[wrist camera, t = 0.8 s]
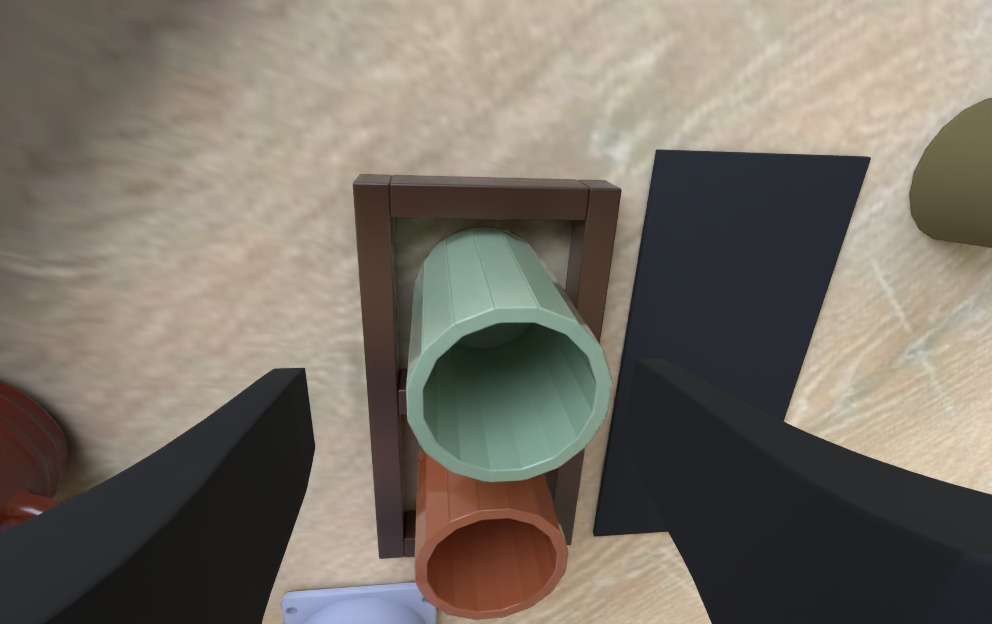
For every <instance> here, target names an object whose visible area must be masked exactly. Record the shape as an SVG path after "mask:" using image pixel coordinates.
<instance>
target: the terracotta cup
mask: <svg viewBox="0 0 992 624" xmlns="http://www.w3.org/2000/svg"><path fill="white" fill-rule="evenodd" d="M567 558H568V547H567V544H566V541H565V537H564V534H563V531H562V527H561V524H560V521H559V517H558V514H557V511H556V507H555V504H554V501H553V497H552V494H551V491H550V487H549V484H548V481H547V477H546V474H545V473H543V474H540V475H537V476H535V477H532V478H529V479H527V480H525V479H524V480H521V481H502V482H488V481H487V482H484V481H481V480H477V479H473V478H470V477H466V476H462V475H459V474H455V473H453V472H451V471H449V470H448V469H447V468H445V467H444V466H442V465H441V464H440V463H438V462H437V461H436V460H434V459H433V458H432V457H430V456H429V455H428V454H426V453H425V451H423V449H422V447H421V445H420V444H419V451H418V466H417V498H416V531H415V583H416V586H417V587H418V589H419V590H420V592H421V593H422V595H423V596H424V598H425V599H426V601H427V602H428V603H429V604H431V605H433V606H435V607H436V608H438V609H440V610H441V611H443V612H445V613H447V614H449V615H453V616H458V617H463V618H468V619H474V620H475V619H476V620H479V619H490V618H502V617H506V616H509V615H512V614H514V613H517V612H520V611H523V610H526V609H528V608H530V607H532V606H534V605H535V604H536V603H538V602H539V601H540V600H542V599H543V598H545V597H546V596H547V595H549V594H550V593H551V592H552V591H553V590H554V588H555V587H556V586H557V584H558V583H559V581H560V580H561V578H562V577H563V575H564V574H565V572H566V565H567Z"/></svg>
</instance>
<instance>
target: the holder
mask: <svg viewBox="0 0 992 624" xmlns="http://www.w3.org/2000/svg"><path fill="white" fill-rule="evenodd" d="M353 194H354V208H355V222H356V237H357V251H358V265H359V279H360V293H361V308H362V322H363V336H364V350H365V364H366V379H367V393H368V407H369V421H370V435H371V450H372V464H373V478H374V492H375V506H376V521H377V535H378V549H379V558H380V559H384V558H399V557H404V556H405V557H415V531H416V510H409V511H406V512H405V487H404V461H403V435H402V414H407V400H406V383H407V370H408V368H402V369H400V358H399V333H398V307H397V281H396V255H395V230H394V218H435V219H505V220H573V226H572V235H571V244H570V254H569V263H568V273H567V282H566V291H565V292H566V294H567V296H568V297H569V299H570V300H571V302H572V303H573V305H574V306H575V308H576V309H577V311H578V312H579V314H580V315H581V317H582V318H583V320H584V321H585V323H586V324H587V326H588V327H589V329H590V330H591V332H592V333H593V335H594V336H595V338H596V339H597V341H598V342H599V344H600V338H601V331H602V324H603V317H604V310H605V303H606V296H607V289H608V282H609V275H610V268H611V261H612V254H613V247H614V240H615V233H616V226H617V219H618V212H619V205H620V198H621V189H620V188H619V187H617V186H615V185H613V184H611V183H609V182H607V181H605V180H578V181H577V180H570V179H530V178H490V177H450V176H410V175H394V176H393V177H392V176H391V175H371V174H360V175H359V176H358V177H357V179H356V180H355V181H354V183H353ZM584 450H585V448H584V449H582V450H581V451H580V452H578V453H577V454H576V455H575V456H573V457H572V458H571V459H570V460H568V461H567V462H566V463H564V464H563V465H562V466H559V467H558V468H556V469H554V470H551V471H548V472H546V477H547V481H548V484H549V487H550V491H551V494H552V497H553V501H554V504H555V507H556V511H557V514H558V517H559V521H560V524H561V527H562V531H563V534H564V537H565V541H566V544H567V545H571V541H572V534H573V527H574V520H575V513H576V506H577V499H578V492H579V485H580V478H581V471H582V464H583V457H584Z"/></svg>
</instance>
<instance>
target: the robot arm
mask: <svg viewBox="0 0 992 624" xmlns="http://www.w3.org/2000/svg"><path fill="white" fill-rule="evenodd" d="M622 435H623V437H624V440H625V443H626V446H627V449H628V452H629V455H630V457H631V460H632V462H633V465H634V467H635V470H636V472H637V474H638V476H639V478H640V480H641V482H642V484H643V486H644V488H645V490H646V492H647V493H648V495H649V497H650V499H651V501H652V503H653V505H654V506H655V508H656V510H657V512H658V514H659V516H660V517H661V519H662V521H663V523H664V525H665V527H666V528H667V530H668V532H669V534H670V536H671V538H672V540H673V541H674V543H675V545H676V547H677V549H678V551H679V552H680V554H681V556H682V558H683V560H684V562H685V564H686V566H687V568H688V570H689V572H690V574H691V576H692V578H693V580H694V582H695V585H696V587H697V589H698V592H699V594H700V597H701V599H702V601H703V604H704V606H705V608H706V611H707V613H708V616H709V618H710V620H711V623H712V624H992V495H991V494H987V493H983V492H980V491H976V490H972V489H969V488H965V487H961V486H958V485H954V484H950V483H947V482H944V481H940V480H937V479H934V478H930V477H927V476H924V475H920V474H917V473H914V472H911V471H908V470H905V469H902V468H899V467H896V466H893V465H890V464H887V463H884V462H882V461H879V460H876V459H873V458H870V457H867V456H864V455H862V454H859V453H856V452H854V451H851V450H848V449H846V448H843V447H841V446H839V445H836V444H834V443H831V442H829V441H826V440H824V439H821V438H819V437H817V436H814V435H812V434H809V433H807V432H805V431H803V430H800V429H798V428H796V427H794V426H792V425H789V424H787V423H785V422H783V421H781V420H779V419H777V418H775V417H773V416H771V415H769V414H767V413H765V412H763V411H761V410H759V409H757V408H755V407H753V406H751V405H749V404H747V403H745V402H743V401H741V400H739V399H738V398H736V397H734V396H732V395H730V394H728V393H726V392H725V391H723V390H721V389H719V388H717V387H715V386H714V385H712V384H710V383H708V382H706V381H704V380H703V379H701V378H699V377H697V376H695V375H693V374H691V373H690V372H688V371H686V370H684V369H682V368H680V367H678V366H676V365H674V364H672V363H670V362H667V361H665V360H662V359H635V362H634V368H633V374H632V379H631V385H630V391H629V397H628V402H627V408H626V414H625V420H624V426H623V431H622ZM314 451H315V442H314V434H313V426H312V419H311V411H310V403H309V396H308V388H307V380H306V373H305V368H281V369H273V370H272V371H270V372H268V373H267V374H265V375H264V376H263V377H261V378H260V379H258V380H257V381H256V382H254V383H253V384H252V385H250V386H249V387H248V388H246V389H245V390H244V391H242V392H241V393H240V394H238V395H237V396H236V397H234V398H233V399H232V400H230V401H229V402H228V403H226V404H225V405H223V406H222V407H221V408H219V409H218V410H217V411H215V412H214V413H212V414H211V415H210V416H208V417H207V418H206V419H204V420H203V421H201V422H200V423H198V424H197V425H195V426H194V427H192V428H191V429H189V430H188V431H186V432H185V433H183V434H182V435H180V436H179V437H177V438H176V439H174V440H173V441H171V442H170V443H168V444H167V445H165V446H164V447H162V448H161V449H159V450H158V451H156V452H155V453H153V454H151V455H150V456H148V457H146V458H145V459H143V460H141V461H140V462H138V463H136V464H135V465H133V466H131V467H130V468H128V469H126V470H124V471H122V472H121V473H119V474H117V475H115V476H113V477H112V478H110V479H108V480H106V481H104V482H103V483H101V484H99V485H97V486H95V487H93V488H91V489H90V490H88V491H86V492H84V493H82V494H80V495H78V496H75V497H73V498H71V499H69V500H67V501H65V502H63V503H61V504H59V505H57V506H55V507H53V508H51V509H49V510H47V511H45V512H43V513H41V514H39V515H36V516H34V517H32V518H30V519H28V520H26V521H24V522H22V523H20V524H18V525H16V526H13V527H11V528H9V529H7V530H4V531H2V532H0V624H262V620H263V616H264V613H265V610H266V607H267V603H268V600H269V597H270V594H271V591H272V588H273V585H274V582H275V579H276V576H277V574H278V571H279V568H280V565H281V562H282V559H283V557H284V554H285V551H286V548H287V545H288V542H289V540H290V537H291V534H292V531H293V528H294V525H295V522H296V520H297V517H298V514H299V511H300V508H301V505H302V502H303V499H304V496H305V493H306V490H307V486H308V481H309V476H310V472H311V467H312V462H313V456H314ZM281 609H282V614H283V619H284V624H437V620H436V607H435V606H433V605H431V604H429V603H428V602H427V601H426V599H425V598H424V596H423V595H422V593H421V592H420V590H419V589H418V587H417V586H416V583H415V582H409V583H396V584H383V585H370V586H357V587H344V588H331V589H318V590H305V591H292V592H288V593H286V594H284V595H283V597H282V600H281Z"/></svg>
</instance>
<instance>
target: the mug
mask: <svg viewBox="0 0 992 624" xmlns="http://www.w3.org/2000/svg"><path fill="white" fill-rule="evenodd" d="M67 464H68V449H67V444H66V440H65V436H64V433H63V431H62V429H61V428H60V426H59V425H58V424H57V422H56V421H55V420H54V419H53V417H52V416H51V415H50V414H49V413H48V412H47V411H46V410H45V409H44V408H43V407H42V406H41V405H40V404H38V403H37V402H36V401H35V400H33V399H32V398H31V397H29V396H28V395H26V394H25V393H23V392H22V391H20V390H18V389H17V388H15V387H13V386H11V385H9V384H7V383H4V382H2V381H0V532H2V531H4V530H7V529H9V528H11V527H13V526H16V525H18V524H20V523H22V522H24V521H26V520H28V519H30V518H32V517H34V516H36V515H39V514H41V513H43V512H45V511H47V510H49V509H51V508H53V507H55V506H57V505H59V504H61V502H60V501H58V500H55V499H53V497H54V495H55V493H56V491H57V488H58V486H59V484H60V483H61V481H62V480H63V478H64V475H65V472H66V469H67Z"/></svg>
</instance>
